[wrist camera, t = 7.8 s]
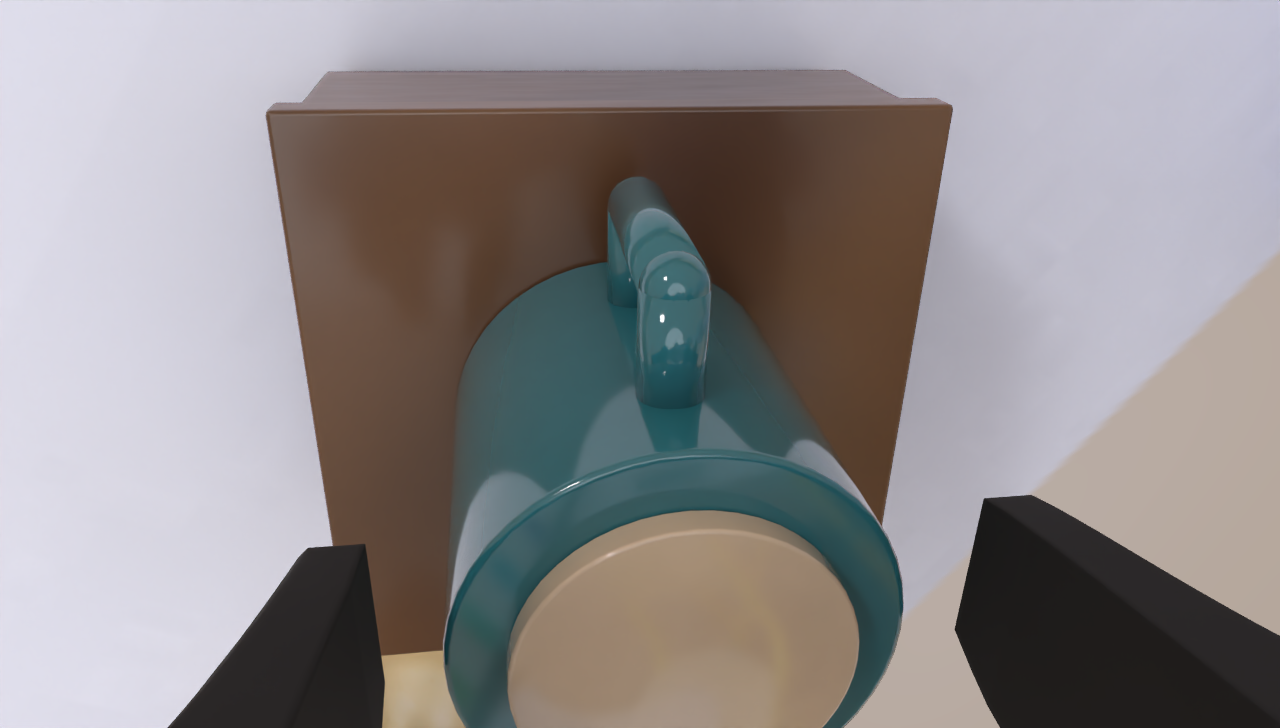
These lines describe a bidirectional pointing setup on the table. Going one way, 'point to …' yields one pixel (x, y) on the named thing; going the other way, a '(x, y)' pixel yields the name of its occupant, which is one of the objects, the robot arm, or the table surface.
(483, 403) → the cup
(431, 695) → the hand bell
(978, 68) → the table surface
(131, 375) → the table surface
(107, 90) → the table surface
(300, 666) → the robot arm
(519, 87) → the brown wooden box
